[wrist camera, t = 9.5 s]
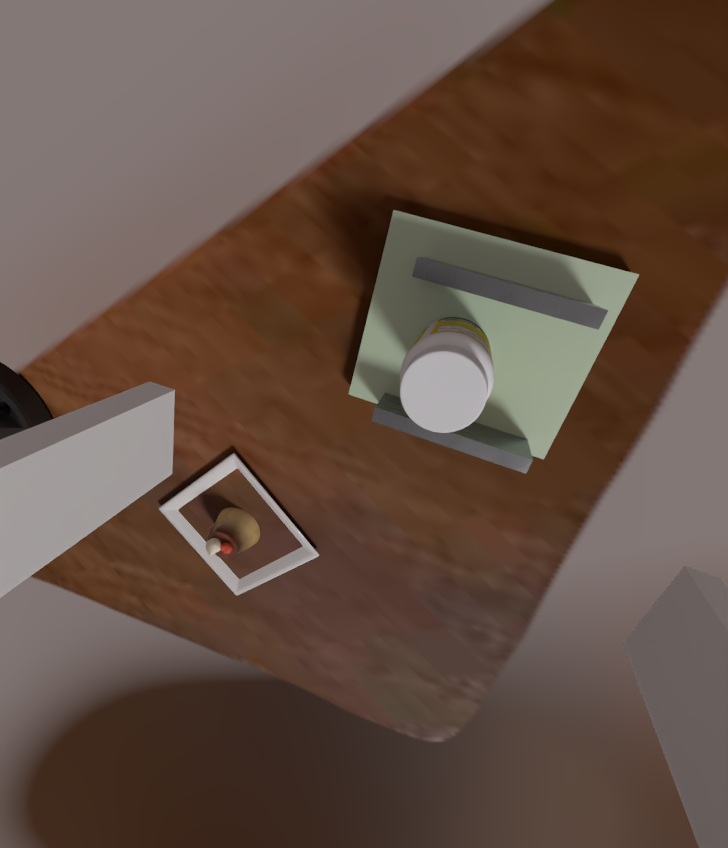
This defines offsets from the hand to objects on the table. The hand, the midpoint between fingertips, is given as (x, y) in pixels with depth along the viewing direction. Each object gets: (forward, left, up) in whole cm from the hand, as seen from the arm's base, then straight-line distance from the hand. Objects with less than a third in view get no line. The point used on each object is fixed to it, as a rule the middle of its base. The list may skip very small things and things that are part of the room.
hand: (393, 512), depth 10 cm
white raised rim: (-13, -22, -20) cm, 32 cm away
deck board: (+1, +1, -19) cm, 19 cm away
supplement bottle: (0, 0, -18) cm, 18 cm away
